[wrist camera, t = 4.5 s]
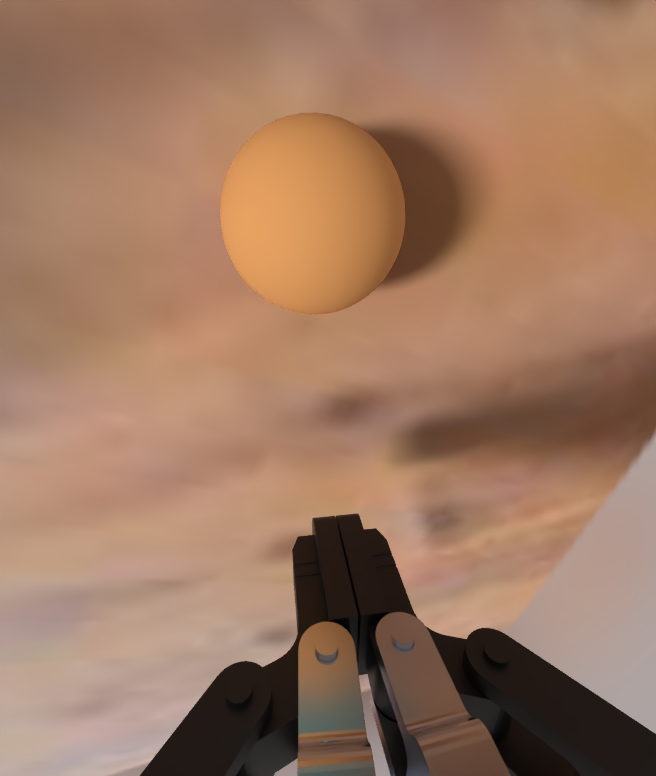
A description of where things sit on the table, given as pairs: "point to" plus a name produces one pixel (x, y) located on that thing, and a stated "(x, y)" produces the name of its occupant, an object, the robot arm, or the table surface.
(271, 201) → the ball
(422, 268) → the table surface
